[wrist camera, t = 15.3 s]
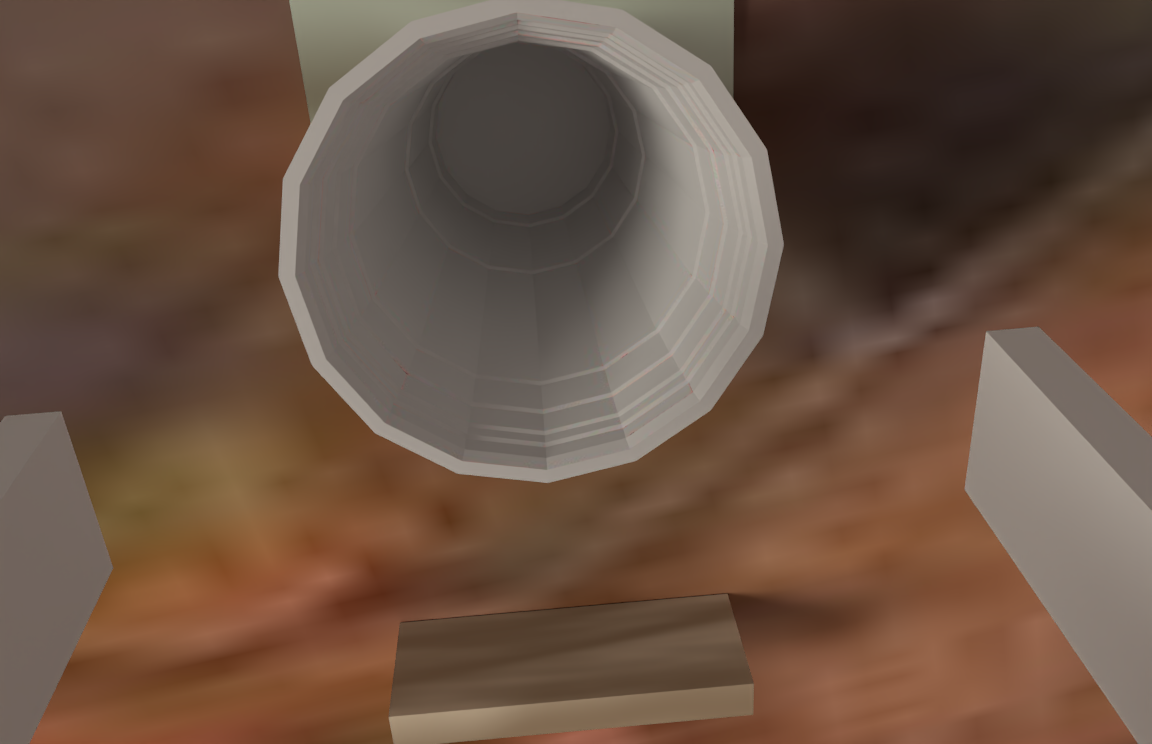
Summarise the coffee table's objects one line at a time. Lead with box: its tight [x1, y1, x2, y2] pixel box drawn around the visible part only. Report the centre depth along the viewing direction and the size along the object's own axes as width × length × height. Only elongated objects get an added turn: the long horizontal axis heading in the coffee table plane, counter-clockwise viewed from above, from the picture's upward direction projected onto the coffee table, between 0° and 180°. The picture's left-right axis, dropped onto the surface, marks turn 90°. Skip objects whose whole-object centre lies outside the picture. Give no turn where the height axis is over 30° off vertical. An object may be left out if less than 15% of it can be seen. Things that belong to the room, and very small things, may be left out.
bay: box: [289, 0, 754, 744], centre depth 34 cm, size 30×13×5 cm, turn 4°
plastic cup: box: [278, 0, 784, 483], centre depth 28 cm, size 11×11×12 cm
